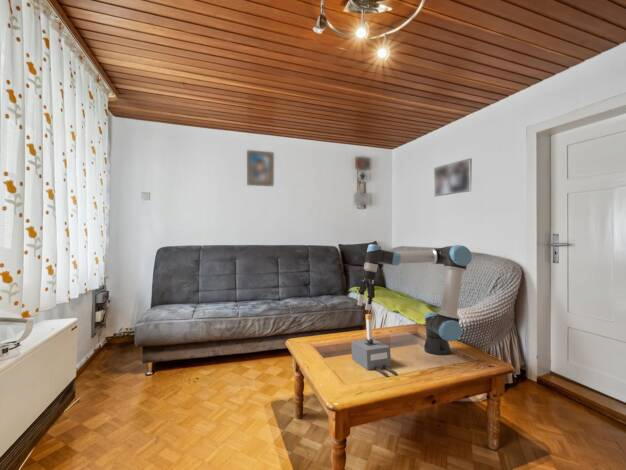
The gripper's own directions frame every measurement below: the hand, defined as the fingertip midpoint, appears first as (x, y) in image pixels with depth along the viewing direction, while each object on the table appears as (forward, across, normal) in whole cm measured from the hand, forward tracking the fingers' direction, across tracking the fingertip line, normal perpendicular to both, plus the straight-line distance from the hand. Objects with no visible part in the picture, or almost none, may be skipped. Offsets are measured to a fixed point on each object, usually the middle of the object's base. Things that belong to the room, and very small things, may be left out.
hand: (363, 307), depth 162 cm
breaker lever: (+18, +4, +6) cm, 19 cm away
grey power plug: (+28, +10, +9) cm, 31 cm away
